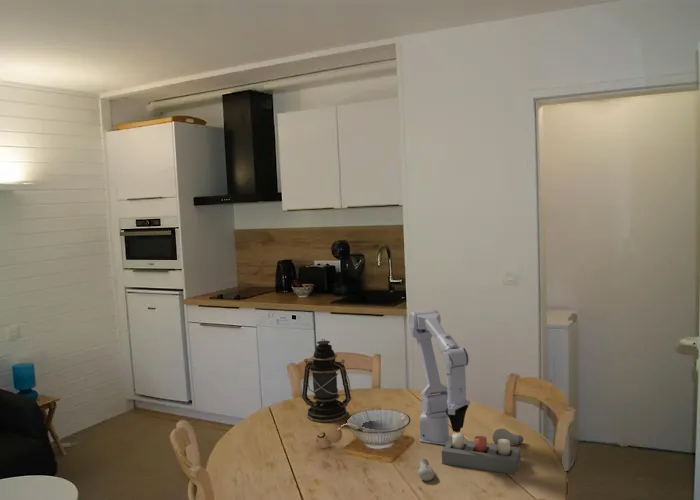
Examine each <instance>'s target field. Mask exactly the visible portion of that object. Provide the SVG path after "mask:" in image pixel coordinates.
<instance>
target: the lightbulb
mask: <svg viewBox="0 0 700 500" xmlns="http://www.w3.org/2000/svg"><path fill="white" fill-rule="evenodd" d="M499 439H508V440H509V441H510V446H512V445H518V444H523V442H524V437H523V435H521V434H517V433H513V432H511V431H509V430H508V429H506V428H498V429H496V430H495V431H494V432H493V435H492V442H493V444H497V445H498V440H499Z"/></svg>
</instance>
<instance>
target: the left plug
mask: <svg viewBox="0 0 700 500" xmlns="http://www.w3.org/2000/svg"><path fill="white" fill-rule="evenodd" d="M451 435H452V438H451V439H452V442H453V448H455V449H463V448H464V440H465V434H464V433H460V432H454V433H453V434H451Z"/></svg>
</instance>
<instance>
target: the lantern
mask: <svg viewBox="0 0 700 500" xmlns="http://www.w3.org/2000/svg"><path fill="white" fill-rule="evenodd" d="M330 343H331V341H330V340H325V338H322V339H321V340H319V341H316V344H317V345H316V346H315V350H314V352H313V355H312V356H311V357H310V360H309V359H308V358H304V359H303V361H304V362H305V366H304V374H303V381H302V393H301V399H302V400H303V401H304V403H305V404H306V406H309V408H307V414H306V415H307V418H308V419H309V420H310V421H312V422H315V423H316V422H317V423H333V422H337V421H340V420H342V419H344V418H346V416H347V415H348V411H347V406H348V404H349V403H350V402H351V400H352V396H351V392H352V390H351V382H350V378H349V376H348V372H347V370H346V367H345V364H344V363H345V359H344V358H343V359H341V360H340V361H336V359H337V357H338V354H337V353H335V351H334V349H332V348H333V346H332V344H330ZM338 371H340V372H339V373H340V376H341V381H342V386H343V390H344V393H343V394H342V396H345V399H344V400H343V401H340V400H339V399H340V396H341V394H339V393H338V392H339V388H338V374H339V373H337V372H338ZM310 373H312V374H311V377H312V384H313V385H312V387H313V389H311V388H310V385H309V383H310V382H309V378H310ZM308 391H311V392H312V393H314V395H313V397H312V400H311V399H310V398H309V396H308ZM313 400H314V401H313Z"/></svg>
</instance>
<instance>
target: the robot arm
mask: <svg viewBox="0 0 700 500" xmlns="http://www.w3.org/2000/svg"><path fill="white" fill-rule="evenodd" d="M408 315H409V316H408V325H409V329H410V333H411V337H413V338H414V339H416V343H417V347H418V352H419V357H420V360H421V366H422V370H423V375H424V379H425V380H424V381H425V384H426V386H425V387H424V388H423V389H422V390H421V392H420V395H419V396H420V407H421V410H422V412H421V414H420V417H419V442H420V443H427V444H435V445H436V444H437V445H442V446H445V445H446V444H447V442H448V441H449V439H450V438H451V439H452V435H453V434H450V427H449V426H450V425H451V428H452V429H451V430H452V432H454V433H460V432H461V429H462V428H463V427H464V423H465V417H466V413H467V410H468V408H469V405H471V400H467V382H466V379H467V377H466V374H467V373H466V367H467V366H468V365H469V361H470V358H469V353H468V351H467V349H466V347H465V346H460V345H458V344H457V342H456V341H455V339H454V338H453V336H452V335H451V334H450V333H446V331H445V330H444V328H443V326H442V325H441V314H440V312H439V311H438V310H437V309H435V308H434V309H431V310H422V311H421V310H420V311H411V312H410V313H409V314H408ZM432 337H433V338H434V339H435V346H436V348H437V349H438V351H439V352H440V353H441V355H442V362H443V365H444V371H445V373H446V385H444V384H442V382H441V378H440V374H439V369H438V365H437V361H436V355H435V351H434V346H433V342H432ZM449 423H450V425H449Z"/></svg>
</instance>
